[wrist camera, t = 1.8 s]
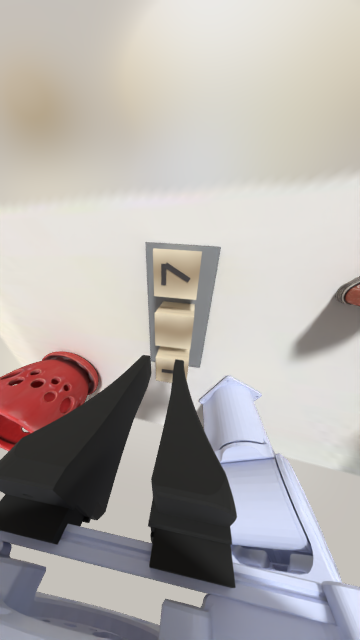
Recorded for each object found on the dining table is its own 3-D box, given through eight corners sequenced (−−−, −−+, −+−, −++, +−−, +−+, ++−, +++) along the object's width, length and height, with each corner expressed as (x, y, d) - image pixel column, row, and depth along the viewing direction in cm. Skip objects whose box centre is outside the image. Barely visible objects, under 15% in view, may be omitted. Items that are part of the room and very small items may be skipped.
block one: (187, 362, 23) (185, 385, 19) (162, 359, 24) (156, 381, 20) (190, 341, 22) (188, 362, 17) (163, 338, 22) (155, 357, 18)
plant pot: (100, 350, 25) (29, 419, 14) (107, 393, 31) (59, 466, 20) (35, 337, 26) (-81, 395, 15) (54, 382, 31) (-20, 448, 21)
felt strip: (199, 365, 24) (199, 367, 24) (151, 359, 25) (150, 361, 24) (220, 247, 16) (220, 246, 15) (146, 242, 16) (145, 242, 16)
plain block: (191, 331, 21) (190, 349, 17) (163, 328, 21) (155, 345, 17) (194, 304, 19) (194, 317, 15) (163, 301, 19) (154, 313, 15)
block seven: (196, 290, 18) (196, 300, 14) (163, 287, 18) (153, 296, 14) (200, 252, 16) (202, 251, 12) (163, 250, 16) (152, 248, 12)
